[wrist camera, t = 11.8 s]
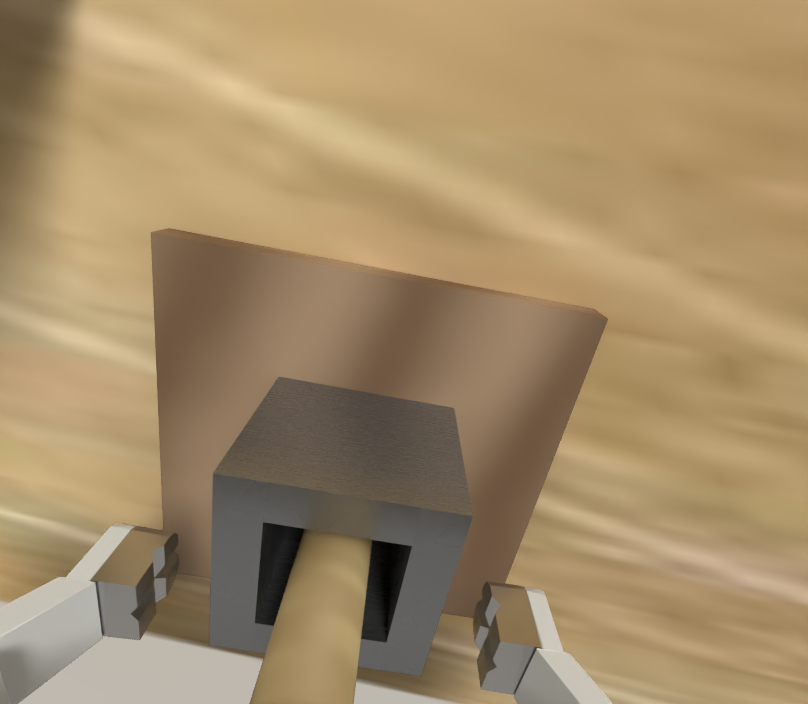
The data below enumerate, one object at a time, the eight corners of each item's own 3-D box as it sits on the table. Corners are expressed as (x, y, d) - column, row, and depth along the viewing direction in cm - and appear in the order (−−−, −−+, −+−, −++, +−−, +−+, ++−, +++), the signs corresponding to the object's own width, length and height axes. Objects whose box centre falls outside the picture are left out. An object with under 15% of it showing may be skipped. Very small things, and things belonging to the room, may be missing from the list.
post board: (595, 309, 14) (859, 501, 6) (486, 599, 19) (541, 918, 11) (169, 228, 13) (-238, 312, 5) (177, 551, 19) (-14, 854, 10)
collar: (454, 407, 14) (473, 516, 10) (418, 538, 17) (420, 675, 12) (279, 376, 14) (213, 473, 9) (267, 513, 16) (209, 645, 12)
